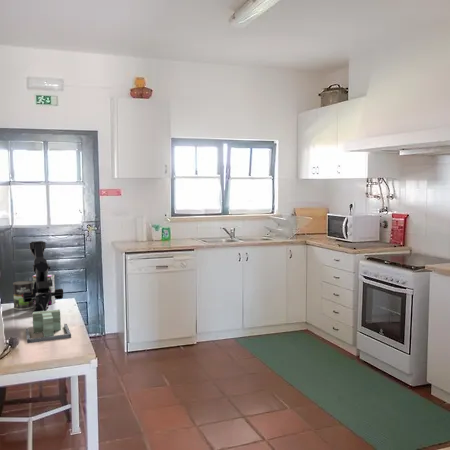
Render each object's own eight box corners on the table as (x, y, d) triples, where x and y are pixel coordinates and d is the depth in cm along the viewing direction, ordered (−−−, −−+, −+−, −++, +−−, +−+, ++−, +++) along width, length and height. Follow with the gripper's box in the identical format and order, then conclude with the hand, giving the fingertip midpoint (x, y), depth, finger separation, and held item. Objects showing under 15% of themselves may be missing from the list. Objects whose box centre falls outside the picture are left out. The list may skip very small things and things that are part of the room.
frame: (25, 331, 235) (25, 328, 235) (66, 326, 242) (66, 323, 242) (27, 343, 219) (27, 340, 219) (71, 337, 226) (71, 334, 226)
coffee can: (34, 308, 275) (33, 283, 274) (14, 310, 271) (12, 285, 269) (33, 304, 284) (32, 279, 283) (13, 306, 280) (12, 281, 279)
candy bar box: (33, 304, 284) (31, 275, 282) (37, 302, 289) (35, 274, 287) (52, 304, 283) (50, 276, 281) (55, 302, 288) (54, 274, 286)
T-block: (33, 330, 236) (32, 312, 235) (60, 327, 241) (59, 309, 240) (34, 339, 223) (33, 320, 222) (63, 336, 228) (62, 316, 227)
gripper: (22, 276, 244) (24, 303, 236) (62, 272, 252) (65, 299, 243) (22, 288, 252) (24, 315, 244) (61, 284, 260) (64, 311, 251)
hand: (44, 310), depth 245 cm, fingers closed
